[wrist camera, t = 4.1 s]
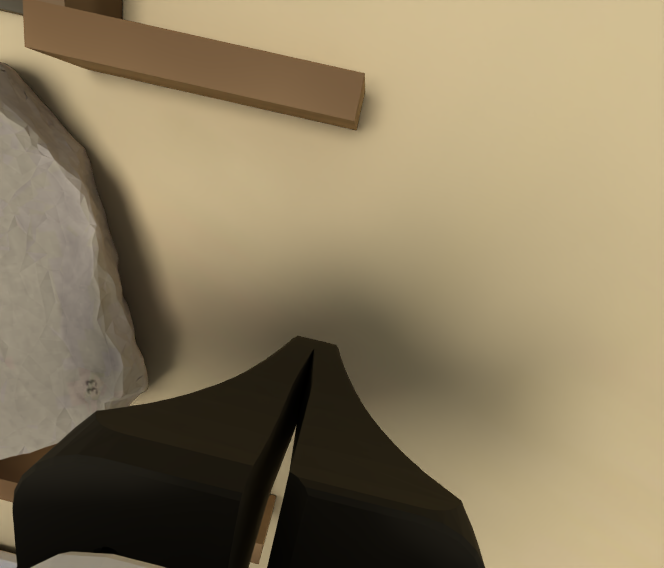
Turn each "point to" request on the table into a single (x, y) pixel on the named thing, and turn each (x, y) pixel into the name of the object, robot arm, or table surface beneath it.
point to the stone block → (55, 283)
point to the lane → (186, 75)
